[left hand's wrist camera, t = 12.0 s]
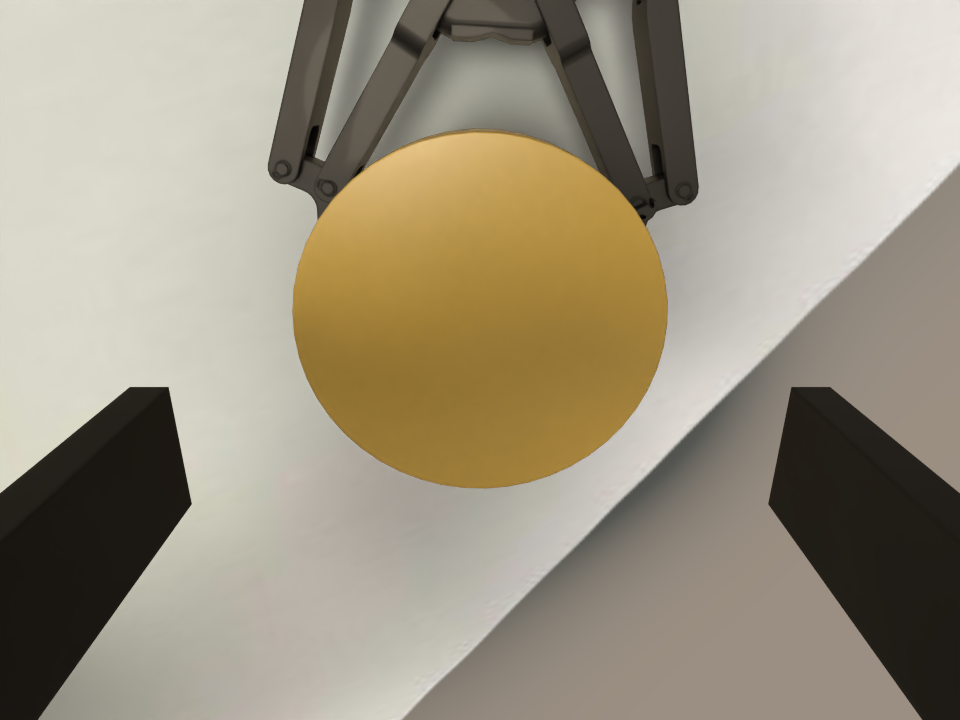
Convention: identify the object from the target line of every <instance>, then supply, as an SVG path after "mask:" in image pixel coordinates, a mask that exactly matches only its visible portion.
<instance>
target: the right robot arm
mask: <svg viewBox="0 0 960 720" xmlns="http://www.w3.org/2000/svg"><path fill="white" fill-rule="evenodd" d="M352 1H353V0H304V4H303V9H302V13H301V18H300V22H299V27H298V31H297V36H296V40H295V45H294V49H293V54H292V58H291V63H290V67H289V72H288V76H287V81H286V85H285V90H284V94H283V99H282V103H281V108H280V112H279V117H278V121H277V126H276V130H275V135H274V139H273V144H272V148H271V153H270V157H269V162H268V171H269V174H270V176H271V177H272V178H273V180H274V181H276V182H278V183H280V184H289V185H291V186H294V187H296V188H298V189H301V190H303V191H305V192H307V193H308V194H310V195H311V196H312V198H313V199H314V200H315V203H316V205H317V216H318V219H319V218H320V216H321V215H322V214H323V212H324V211H325V209H326V208H327V207H328V205H329V204H330V202H331V201H332V200H333V198H334V197H335V196H336V195H337V194H338V193H339V192H340V191H341V190H342V189H343V188H344V187H345V186H346V185H347V184H348V183H349V182H350V181H351V180H352V179H353V178H355V177H356V176H357V175H358V174H360V173H361V172H362V171H363V169H364V167H365V166H366V164H367V162H368V160H369V158H370V157H371V155H372V153H373V151H374V150H375V148H376V146H377V144H378V143H379V141H380V139H381V137H382V135H383V134H384V132H385V130H386V128H387V127H388V125H389V123H390V121H391V120H392V118H393V116H394V114H395V112H396V111H397V109H398V107H399V105H400V104H401V102H402V100H403V98H404V97H405V95H406V93H407V91H408V90H409V88H410V86H411V84H412V82H413V81H414V79H415V77H416V75H417V74H418V72H419V70H420V68H421V67H422V65H423V63H424V61H425V60H426V58H427V57H428V56H429V54H430V53H431V51H432V49H433V48H434V46H435V44H436V42H437V41H438V39H439V37H440V35H441V34H443V35H445V36H447V37H449V38H452V39H453V41H463V42H474V41H478V40H482V39H487V38H495V39H498V40H500V41H503V42H506V43H509V44H515V45H530V44H531V43H534V42H537V41H539V40H542V42H543V45H544V47H545V49H546V52H547V54H548V56H549V58H550V60H551V62H552V64H553V66H554V67H555V69H556V71H557V74H558V76H559V78H560V81H561V83H562V85H563V88H564V90H565V92H566V95H567V97H568V99H569V102H570V104H571V106H572V109H573V111H574V113H575V116H576V118H577V120H578V123H579V125H580V127H581V130H582V132H583V134H584V137H585V139H586V141H587V144H588V146H589V148H590V151H591V153H592V155H593V158H594V160H595V162H596V165H597V167H598V169H599V171H600V173H601V174H602V175H603V176H604V177H605V178H606V179H608V180H609V181H610V182H611V183H612V184H613V185H614V186H615V187H616V188H617V189H619V191H620V192H621V193H622V194H623V195H624V197H625V198H626V199H627V200H628V201H629V203H630V204H631V205H632V206H633V207H634V209H635V210H636V212H637V213H638V215H639V217H640V218H641V220H642V221H643V223H644V225H645V226H646V224H647V222H648V220H649V219H651V218H652V217H653V216H654V214H655V213H656V212H657V211H659V210H662V209H665V208H668V207H672V206H675V205H687V204H689V203H691V202H692V201H693V200H694V199H695V198H696V196H697V194H698V188H699V186H698V177H697V168H696V159H695V150H694V141H693V132H692V123H691V113H690V104H689V95H688V86H687V77H686V68H685V59H684V50H683V41H682V31H681V22H680V13H679V4H678V0H633V3H632V23H633V33H634V40H635V48H636V55H637V63H638V70H639V78H640V85H641V92H642V100H643V107H644V115H645V122H646V130H647V137H648V144H649V152H650V159H651V167H652V174H653V176H651V177H648V178H643V176H642V173H641V171H640V168H639V166H638V163H637V161H636V159H635V156H634V154H633V151H632V149H631V146H630V144H629V141H628V139H627V136H626V134H625V131H624V129H623V126H622V124H621V122H620V119H619V117H618V114H617V112H616V109H615V107H614V104H613V102H612V99H611V97H610V94H609V92H608V90H607V87H606V85H605V82H604V80H603V77H602V75H601V72H600V70H599V67H598V65H597V62H596V60H595V58H594V55H593V53H592V50H591V45H590V40H589V37H588V34H587V31H586V29H585V27H584V24H583V22H582V19H581V17H580V14H579V12H578V9H577V7H576V4H575V1H576V0H410V1H409V3H408V5H407V7H406V9H405V10H404V12H403V14H402V16H401V18H400V20H399V22H398V24H397V26H396V28H395V30H394V33H393V36H392V39H391V41H390V43H389V45H388V46H387V48H386V50H385V52H384V54H383V56H382V57H381V59H380V61H379V63H378V65H377V67H376V68H375V70H374V72H373V74H372V76H371V78H370V80H369V81H368V83H367V85H366V87H365V89H364V91H363V92H362V94H361V96H360V98H359V100H358V102H357V104H356V105H355V107H354V109H353V111H352V113H351V115H350V116H349V118H348V120H347V122H346V124H345V126H344V128H343V129H342V131H341V133H340V135H339V137H338V139H337V140H336V142H335V144H334V146H333V148H332V150H331V152H330V153H329V155H328V157H327V159H326V161H325V162H324V161H322V160H319V159H317V158H315V154H316V150H317V146H318V142H319V138H320V134H321V130H322V125H323V121H324V117H325V113H326V109H327V105H328V101H329V97H330V93H331V89H332V85H333V81H334V77H335V73H336V69H337V65H338V61H339V57H340V53H341V49H342V45H343V41H344V36H345V32H346V28H347V24H348V20H349V16H350V12H351V7H352Z"/></svg>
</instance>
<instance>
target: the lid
mask: <svg viewBox="0 0 960 720" xmlns="http://www.w3.org/2000/svg"><path fill="white" fill-rule="evenodd" d="M292 312H293V325H294V336H295V340H296V345H297V350H298V354H299V358H300V361H301V364H302V366H303V369H304V372H305V375H306V377H307V380H308V382H309V384H310V386H311V387H312V389H313V391H314V393H315V395H316V397H317V399H318V400H319V402H320V403H321V405H322V406H323V408H324V409H325V411H326V412H327V413H328V415H329V416H330V418H331V419H332V420H333V421H334V422H335V423H336V424H337V425H338V427H339V428H340V429H341V430H342V431H343V432H344V433H345V434H346V435H347V436H348V437H349V438H350V439H351V440H353V441H354V442H355V443H356V444H357V445H358V446H360V447H361V448H362V449H363V450H365V451H366V452H368V453H369V454H371V455H372V456H374V457H375V458H376V459H378V460H379V461H381V462H383V463H385V464H387V465H389V466H391V467H393V468H394V469H396V470H398V471H400V472H403V473H406V474H408V475H411V476H413V477H416V478H419V479H422V480H426V481H429V482H433V483H437V484H441V485H448V486H455V487H462V488H496V487H507V486H512V485H518V484H523V483H528V482H531V481H534V480H538V479H541V478H544V477H547V476H550V475H552V474H555V473H557V472H559V471H561V470H563V469H566V468H568V467H570V466H572V465H573V464H575V463H577V462H578V461H580V460H582V459H583V458H585V457H587V456H589V455H590V454H591V453H593V452H594V451H595V450H596V449H598V448H599V447H600V446H602V445H603V444H604V443H606V442H607V441H608V440H609V439H610V438H611V437H612V436H613V435H614V434H615V433H616V432H617V431H618V430H619V429H620V428H621V427H622V426H623V425H624V423H625V422H626V421H627V420H628V418H629V417H630V416H631V415H632V413H633V412H634V411H635V410H636V408H637V407H638V405H639V403H640V402H641V400H642V398H643V397H644V395H645V393H646V392H647V390H648V388H649V386H650V384H651V381H652V379H653V377H654V375H655V372H656V370H657V368H658V364H659V361H660V357H661V354H662V350H663V347H664V341H665V334H666V327H667V293H666V285H665V278H664V273H663V270H662V266H661V262H660V259H659V255H658V252H657V250H656V248H655V245H654V243H653V241H652V238H651V236H650V234H649V231H648V230H647V228H646V226H645V225H644V223H643V221H642V220H641V218H640V217H639V215H638V213H637V212H636V210H635V209H634V207H633V206H632V205H631V204H630V203H629V201H628V200H627V199H626V198H625V197H624V195H623V194H622V193H621V192H620V191H619V189H617V188H616V187H615V186H614V185H613V184H612V183H611V182H610V181H609V180H608V179H606V178H605V177H604V176H603V175H602V174H601V173H600V172H598V171H597V170H595V169H594V168H593V167H591V166H590V165H588V164H587V163H585V162H584V161H582V160H581V159H579V158H578V157H576V156H574V155H573V154H571V153H569V152H567V151H565V150H563V149H561V148H559V147H557V146H555V145H553V144H551V143H549V142H547V141H544V140H541V139H538V138H535V137H532V136H528V135H525V134H522V133H516V132H510V131H505V130H499V129H465V130H455V131H448V132H444V133H440V134H436V135H432V136H428V137H424V138H422V139H419V140H417V141H414V142H412V143H409V144H407V145H404V146H402V147H400V148H399V149H397V150H395V151H393V152H392V153H390V154H388V155H386V156H385V157H383V158H381V159H380V160H378V161H376V162H374V163H373V164H371V165H370V166H369V167H367V168H366V169H365V170H364V171H362V172H361V173H360V174H358V175H357V176H356V177H355V178H353V179H352V180H351V181H350V182H349V183H348V184H347V185H346V186H345V187H344V188H343V189H342V190H341V191H340V192H339V193H338V194H337V195H336V196H335V197H334V198H333V200H332V201H331V202H330V204H329V205H328V207H327V208H326V209H325V211H324V212H323V214H322V215H321V216H320V218H319V219H318V221H317V223H316V225H315V227H314V229H313V230H312V232H311V234H310V236H309V238H308V240H307V242H306V245H305V248H304V251H303V253H302V256H301V259H300V262H299V265H298V270H297V275H296V280H295V285H294V294H293V310H292Z"/></svg>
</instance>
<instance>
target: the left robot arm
mask: <svg viewBox="0 0 960 720" xmlns="http://www.w3.org/2000/svg"><path fill="white" fill-rule="evenodd" d="M191 504H192V503H191V498H190V493H189V488H188V483H187V478H186V473H185V468H184V463H183V458H182V453H181V448H180V443H179V438H178V433H177V428H176V423H175V418H174V413H173V408H172V402H171V397H170V392H169V387H130V388H128V389H127V390H126V391H125V392H123V393H122V394H121V395H120V396H119V397H117V398H116V399H115V400H114V401H112V402H111V403H110V404H109V405H108V406H106V407H105V408H104V409H103V410H101V411H100V412H99V413H98V414H97V415H95V416H94V417H93V418H92V419H90V420H89V421H88V422H87V423H86V424H84V425H83V426H82V427H81V428H79V429H78V430H77V431H76V432H75V433H73V434H72V435H71V436H70V437H69V438H67V439H66V440H65V441H64V442H62V443H61V444H60V445H59V446H58V447H56V448H55V449H54V450H53V451H51V452H50V453H49V454H48V455H47V456H45V457H44V458H43V459H42V460H40V461H39V462H38V463H37V464H36V465H34V466H33V467H32V468H31V469H29V470H28V471H27V472H26V473H25V474H23V475H22V476H21V477H20V478H18V479H17V480H16V481H15V482H14V483H12V484H11V485H10V486H9V487H7V488H6V489H5V490H4V491H3V492H1V493H0V720H38V719H39V717H40V716H41V714H42V713H43V712H44V710H45V709H46V707H47V706H48V705H49V703H50V702H51V700H52V699H53V698H54V696H55V695H56V693H57V692H58V691H59V689H60V688H61V686H62V685H63V684H64V682H65V681H66V679H67V678H68V677H69V675H70V674H71V672H72V671H73V670H74V668H75V667H76V665H77V664H78V663H79V661H80V660H81V658H82V657H83V656H84V654H85V653H86V651H87V650H88V649H89V647H90V646H91V644H92V643H93V642H94V640H95V639H96V637H97V636H98V635H99V633H100V632H101V630H102V629H103V628H104V626H105V625H106V623H107V622H108V621H109V619H110V618H111V616H112V615H113V614H114V612H115V611H116V609H117V608H118V607H119V605H120V604H121V602H122V601H123V600H124V598H125V597H126V595H127V594H128V593H129V591H130V590H131V588H132V587H133V586H134V584H135V583H136V581H137V580H138V579H139V577H140V576H141V574H142V573H143V572H144V570H145V569H146V567H147V566H148V565H149V563H150V562H151V560H152V559H153V558H154V556H155V555H156V553H157V552H158V551H159V549H160V548H161V546H162V545H163V544H164V542H165V541H166V539H167V538H168V537H169V535H170V534H171V532H172V531H173V530H174V528H175V527H176V525H177V524H178V523H179V521H180V520H181V518H182V517H183V516H184V514H185V513H186V511H187V510H188V509H189V507H190V506H191ZM768 504H769V506H770V507H771V509H772V510H773V511H774V513H775V514H776V516H777V517H778V518H779V520H780V521H781V523H782V524H783V525H784V527H785V528H786V529H787V531H788V532H789V534H790V535H791V536H792V538H793V539H794V541H795V542H796V544H797V545H798V546H799V548H800V549H801V550H802V552H803V553H804V555H805V556H806V557H807V559H808V560H809V562H810V563H811V565H812V566H813V567H814V569H815V570H816V572H817V573H818V574H819V576H820V577H821V579H822V580H823V581H824V583H825V584H826V586H827V587H828V588H829V590H830V591H831V593H832V594H833V595H834V597H835V598H836V599H837V601H838V602H839V604H840V605H841V607H842V608H843V609H844V611H845V612H846V614H847V615H848V616H849V618H850V619H851V621H852V622H853V623H854V625H855V626H856V627H857V629H858V630H859V632H860V633H861V635H862V636H863V637H864V639H865V640H866V641H867V643H868V644H869V646H870V647H871V649H872V650H873V651H874V653H875V654H876V656H877V657H878V658H879V660H880V661H881V663H882V664H883V665H884V667H885V668H886V669H887V671H888V672H889V674H890V675H891V676H892V678H893V679H894V681H895V682H896V684H897V685H898V686H899V688H900V689H901V691H902V692H903V693H904V695H905V696H906V698H907V699H908V700H909V702H910V703H911V705H912V706H913V707H914V709H915V710H916V712H917V713H918V714H919V716H920V717H921V719H922V720H960V493H959V492H957V491H956V490H955V489H954V488H953V487H951V486H950V485H949V484H948V483H946V482H945V481H944V480H943V479H942V478H940V477H939V476H938V475H937V474H935V473H934V472H933V471H932V470H930V469H929V468H928V467H927V466H926V465H924V464H923V463H922V462H921V461H920V460H918V459H917V458H916V457H915V456H913V455H912V454H911V453H910V452H909V451H907V450H906V449H905V448H904V447H902V446H901V445H900V444H899V443H898V442H896V441H895V440H894V439H893V438H891V437H890V436H889V435H888V434H887V433H885V432H884V431H883V430H882V429H880V428H879V427H878V426H877V425H876V424H874V423H873V422H872V421H871V420H869V419H868V418H867V417H866V416H865V415H863V414H862V413H861V412H860V411H858V410H857V409H856V408H855V407H854V406H852V405H851V404H850V403H849V402H848V401H846V400H845V399H844V398H843V397H841V396H840V395H839V394H838V393H837V392H835V391H834V390H833V389H832V388H830V387H792V388H791V392H790V397H789V402H788V408H787V413H786V418H785V423H784V428H783V433H782V438H781V443H780V448H779V453H778V458H777V463H776V468H775V473H774V478H773V483H772V488H771V493H770V498H769V503H768Z"/></svg>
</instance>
